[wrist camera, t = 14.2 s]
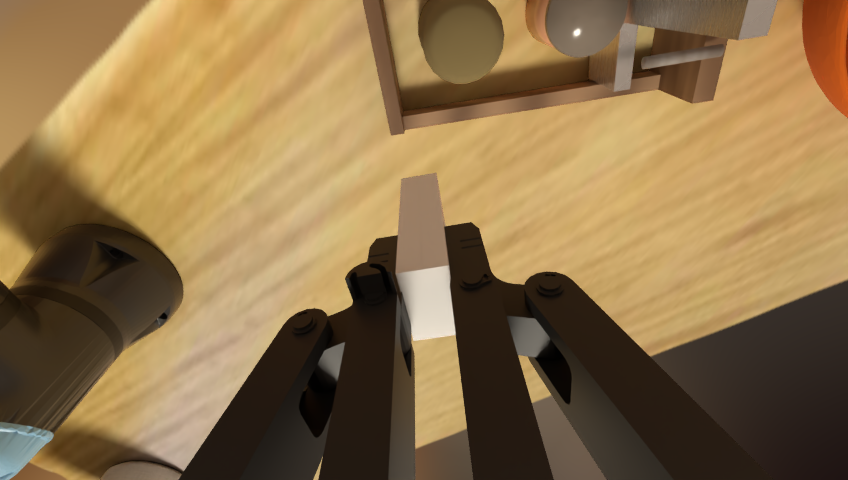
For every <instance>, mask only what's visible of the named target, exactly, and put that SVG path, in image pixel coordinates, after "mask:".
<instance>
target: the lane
mask: <svg viewBox="0 0 848 480" xmlns="http://www.w3.org/2000/svg"><path fill="white" fill-rule="evenodd" d="M363 4H364V9H365V14H366V18H367V23H368V28H369V33H370V37H371V42H372V47H373V52H374V57H375V61H376V66H377V71H378V76H379V80H380V85H381V90H382V95H383V99H384V104H385V109H386V114H387V118H388V123H389V128H390V133H391V135H397V134H403V133H404V131H405V130H408V129H414V128H420V127H427V126H433V125H439V124H446V123H452V122H458V121H464V120H471V119H477V118H483V117H489V116H496V115H502V114H508V113H514V112H521V111H527V110H533V109H539V108H546V107H552V106H558V105H564V104H571V103H577V102H583V101H589V100H596V99H602V98H608V97H615V96H621V95H627V94H633V93H640V92H646V91H652V90H661V91H663V92H665V93H668V94H670V95H673V96H675V97H678V98H680V99H682V100H685V101H687V102H690V103H692V104H693V103H699V102H705V101H712V100H713V99H714V95H715V90H716V86H717V82H718V78H719V74H720V70H721V66H722V61H723V57H724V53H725V49H726V45H727V41H728V39H727V38H720V37H714V36H707V35H700V34H694V33H687V32H681V31H674V30H667V29H661V28H655V34H654V40H653V47H652V54H651V56H646V57H643V58H642V61H641V67H642V69H649V71H645V72H638V73H632V77H631V85H630V89H628V90H622V91H615V92H613V91H611V90H610V89H608V88H606V87H604V86H602V85H600V84H598V83H596V82H594V81H592V80H590V81H584V82H578V83H571V84H565V85H559V86H553V87H547V88H541V89H535V90H529V91H523V92H517V93H511V94H504V95H498V96H492V97H486V98H480V99H474V100H468V101H462V102H456V103H450V104H444V105H438V106H431V107H425V108H419V109H413V110H407V111H403V107H402V101H401V96H400V91H399V85H398V80H397V74H396V69H395V64H394V58H393V53H392V47H391V42H390V37H389V31H388V26H387V21H386V15H385V10H384V4H383V0H363Z"/></svg>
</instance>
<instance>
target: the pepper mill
mask: <svg viewBox="0 0 848 480" xmlns="http://www.w3.org/2000/svg"><path fill="white" fill-rule="evenodd" d="M418 35H419V38H420V42H421V46H422V48H423V50H424V54H425V58H426V61H427V62H428V64H429V66H430V67H431V69H432V70H433V72H434V73H436V74H437V75H438V76H439V77H441V78H442V79H443V80H446V81H448V82H451V83H454V84H468V83H471V82H474V81H477V80H479V79H480V78H482V77H483V76H485V75H486V74H487V73H489V72H490V70H491V69H492V68H493V67H494V65H495V64H496V63H497V61H498V59H499V56H500V54H501V51H502V49H503V40H504V31H503V25H502V20H501V18H500V16H499V14H498V12H497V10H496V8H495V7H494V6H493V5H492V4H491V3H490V2H489V1H488V0H428V1H427V3H426V5H425V6H424V8H423V9H422V12H421V15H420V19H419V34H418Z"/></svg>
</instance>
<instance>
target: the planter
mask: <svg viewBox="0 0 848 480" xmlns="http://www.w3.org/2000/svg"><path fill="white" fill-rule="evenodd" d="M181 475H182V474H181V473H180V472H178V471H176V470H174V469H172V468H170V467H167V466H164V465H161V464H157V463H152V462H146V461H130V462H124V463H120V464H117V465H115V466H112V467H110V468H109V469H108V470H107V471H106V472H105V473H104V474H103V475H102V477H101V478H100V480H178V479H179V478H180V476H181Z"/></svg>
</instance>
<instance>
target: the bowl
mask: <svg viewBox="0 0 848 480" xmlns="http://www.w3.org/2000/svg"><path fill="white" fill-rule="evenodd" d="M802 30H803V43H804V48H805V52H806V56H807V60H808V63H809V66H810V68H811V71H812V73H813V76H814V78H815V80H816V82H817V83H818V85H819V87H820V88H821V90H822V91H823V92H824V94H825V95H826V97H827V98H828V99H829V101H830V102H831V103H832V104H833V105H834V106H835V107H836V108H837V109H838V110H839V111H840V112H841V113H842V114H843V115H845V116H846V117H847V118H848V0H804V4H803V19H802Z"/></svg>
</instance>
